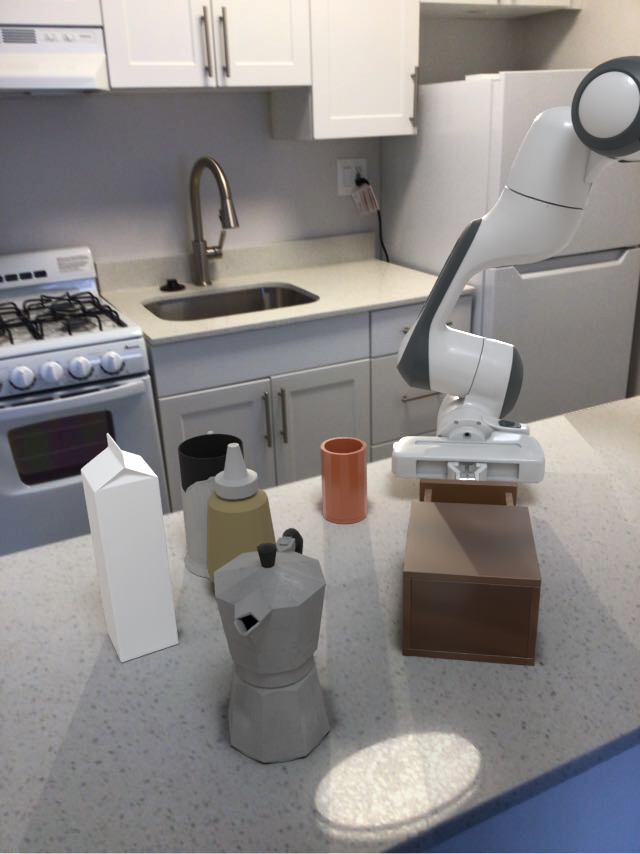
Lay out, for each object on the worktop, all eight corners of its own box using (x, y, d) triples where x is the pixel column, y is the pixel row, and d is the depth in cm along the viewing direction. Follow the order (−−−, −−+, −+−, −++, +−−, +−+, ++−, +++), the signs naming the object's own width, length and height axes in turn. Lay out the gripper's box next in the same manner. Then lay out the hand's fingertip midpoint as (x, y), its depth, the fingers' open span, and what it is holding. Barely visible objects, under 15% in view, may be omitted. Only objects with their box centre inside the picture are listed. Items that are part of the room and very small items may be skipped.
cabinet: (410, 574, 88) (411, 500, 84) (522, 581, 86) (528, 506, 82) (402, 655, 74) (402, 571, 71) (534, 665, 72) (541, 579, 69)
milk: (121, 664, 75) (87, 460, 67) (106, 631, 80) (73, 438, 72) (180, 643, 77) (154, 445, 69) (162, 613, 82) (136, 425, 74)
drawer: (420, 518, 99) (421, 463, 96) (510, 522, 97) (514, 467, 94) (413, 595, 82) (414, 532, 80) (521, 602, 80) (525, 538, 78)
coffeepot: (313, 793, 59) (304, 598, 53) (200, 775, 61) (178, 585, 55) (350, 666, 73) (346, 499, 67) (257, 654, 75) (244, 492, 69)
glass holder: (184, 581, 88) (171, 464, 83) (185, 524, 101) (174, 419, 96) (259, 573, 89) (251, 456, 84) (251, 517, 102) (243, 413, 97)
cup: (365, 502, 105) (364, 436, 102) (368, 523, 100) (367, 453, 96) (322, 504, 105) (320, 437, 102) (323, 524, 100) (320, 455, 96)
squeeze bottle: (264, 617, 81) (253, 464, 74) (196, 605, 84) (180, 456, 77) (291, 577, 88) (283, 434, 82) (228, 567, 91) (215, 427, 84)
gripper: (393, 420, 109) (385, 459, 97) (540, 424, 106) (551, 465, 93) (393, 460, 112) (385, 503, 99) (537, 465, 108) (547, 510, 95)
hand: (467, 484), depth 96 cm, fingers closed, pressing on drawer
